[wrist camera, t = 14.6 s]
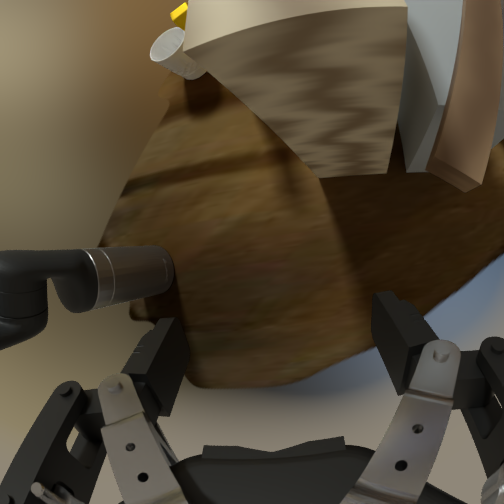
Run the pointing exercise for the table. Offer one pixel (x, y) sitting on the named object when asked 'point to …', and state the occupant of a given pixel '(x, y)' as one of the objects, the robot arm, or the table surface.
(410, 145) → the grey block
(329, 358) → the table surface
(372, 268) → the table surface
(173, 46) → the white cup
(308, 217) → the table surface
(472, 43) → the brown block
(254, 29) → the oak stand
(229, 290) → the table surface
